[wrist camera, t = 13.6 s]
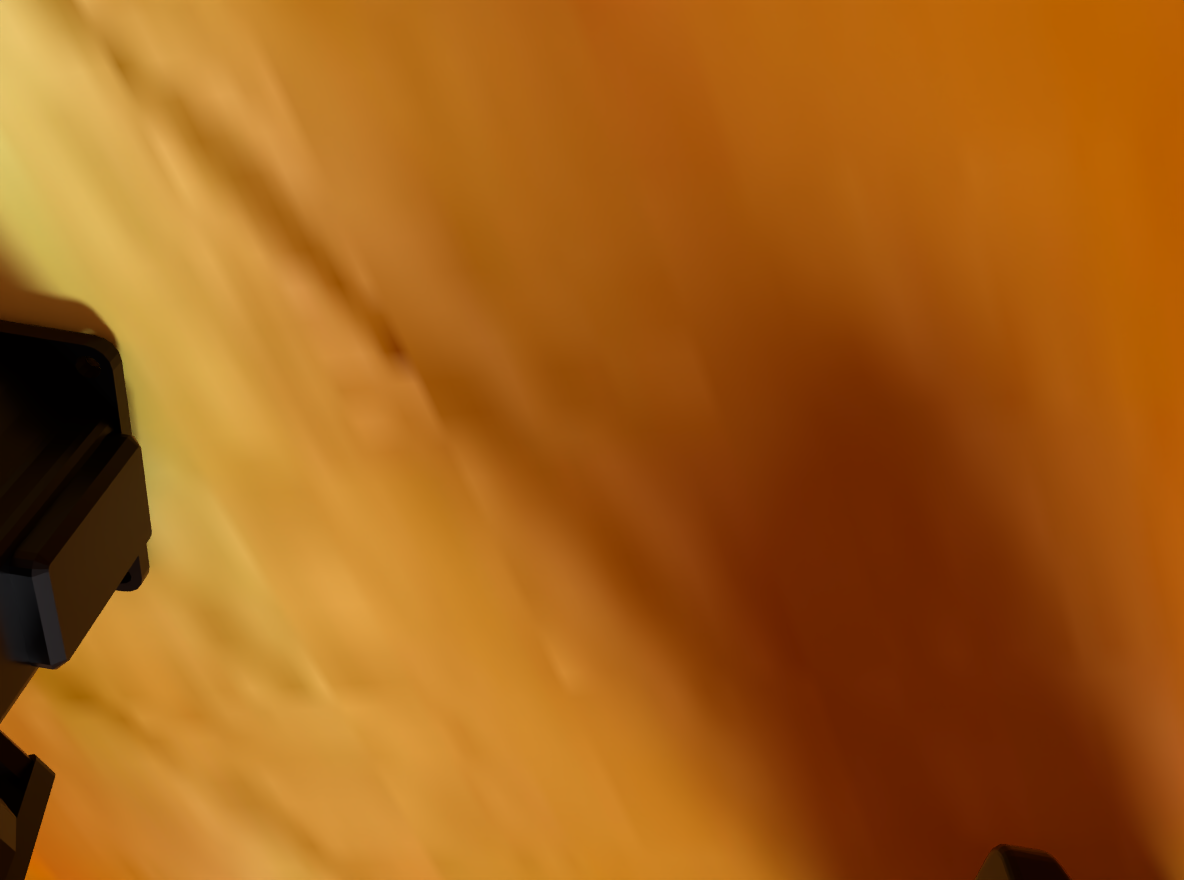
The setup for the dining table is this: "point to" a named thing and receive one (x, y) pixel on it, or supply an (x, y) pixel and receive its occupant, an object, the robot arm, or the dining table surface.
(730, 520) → the dining table surface
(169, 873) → the dining table surface
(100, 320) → the dining table surface
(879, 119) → the dining table surface
